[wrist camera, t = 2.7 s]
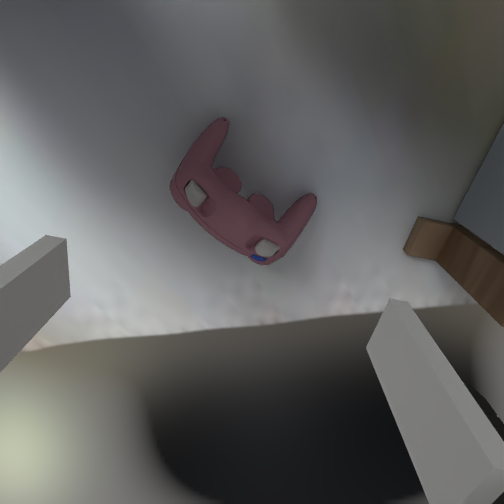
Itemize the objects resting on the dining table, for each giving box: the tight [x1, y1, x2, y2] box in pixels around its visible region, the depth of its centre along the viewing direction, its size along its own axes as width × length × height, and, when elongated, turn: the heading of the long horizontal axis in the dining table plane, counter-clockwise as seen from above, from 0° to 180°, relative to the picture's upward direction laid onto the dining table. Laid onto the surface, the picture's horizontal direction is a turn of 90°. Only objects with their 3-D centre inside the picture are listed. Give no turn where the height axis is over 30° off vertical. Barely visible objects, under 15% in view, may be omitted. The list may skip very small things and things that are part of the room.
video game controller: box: [170, 117, 317, 265], centre depth 22 cm, size 10×5×7 cm, turn 51°
